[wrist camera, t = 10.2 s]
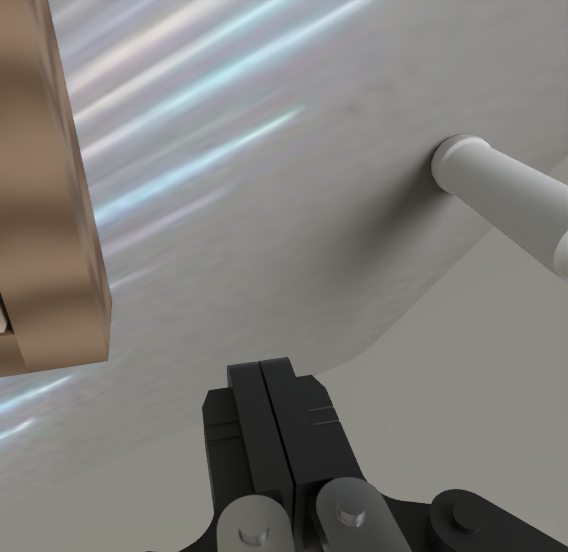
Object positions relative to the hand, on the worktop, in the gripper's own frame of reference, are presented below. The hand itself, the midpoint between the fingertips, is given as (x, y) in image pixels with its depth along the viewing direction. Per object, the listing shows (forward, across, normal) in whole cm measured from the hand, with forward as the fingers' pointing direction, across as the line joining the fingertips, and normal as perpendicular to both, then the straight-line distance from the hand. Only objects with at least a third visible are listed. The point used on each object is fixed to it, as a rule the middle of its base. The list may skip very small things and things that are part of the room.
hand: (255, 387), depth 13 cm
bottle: (+30, -24, +6) cm, 39 cm away
